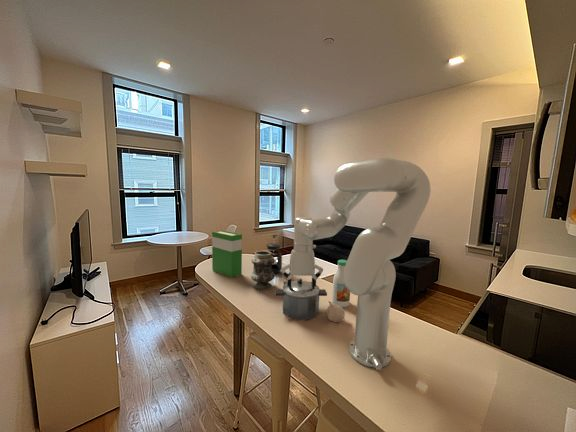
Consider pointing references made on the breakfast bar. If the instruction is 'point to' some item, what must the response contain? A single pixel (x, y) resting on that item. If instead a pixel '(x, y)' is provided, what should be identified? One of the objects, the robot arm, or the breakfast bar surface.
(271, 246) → the french press
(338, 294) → the milk bottle
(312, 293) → the cooker lid
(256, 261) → the grey rounded vessel
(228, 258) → the green tissue carton
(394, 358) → the breakfast bar surface
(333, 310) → the garlic bulb
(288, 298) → the cooker pot
